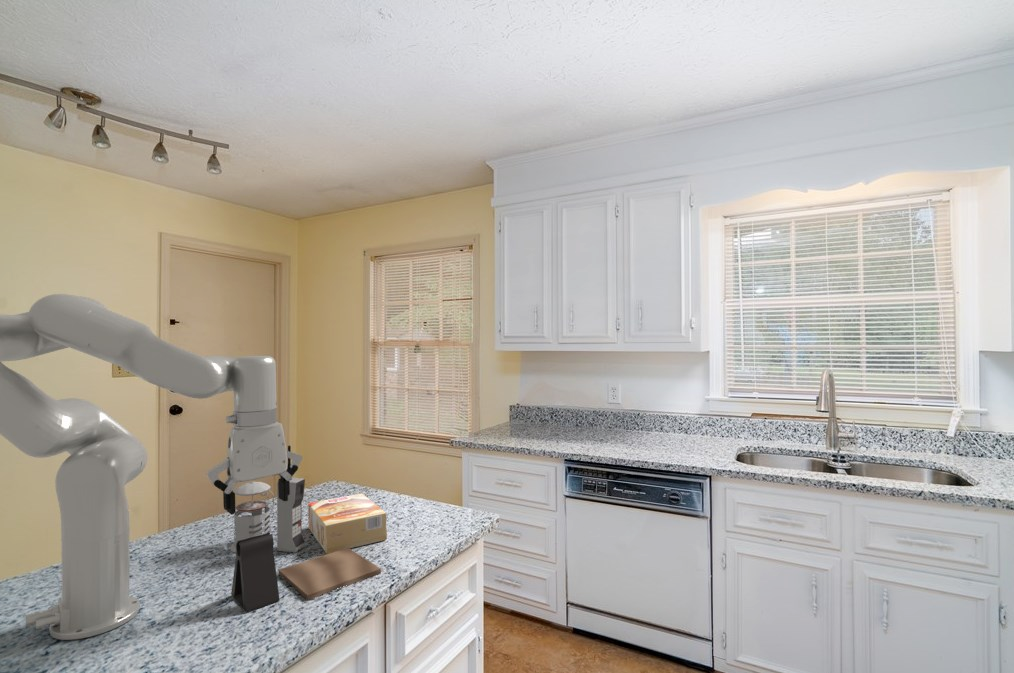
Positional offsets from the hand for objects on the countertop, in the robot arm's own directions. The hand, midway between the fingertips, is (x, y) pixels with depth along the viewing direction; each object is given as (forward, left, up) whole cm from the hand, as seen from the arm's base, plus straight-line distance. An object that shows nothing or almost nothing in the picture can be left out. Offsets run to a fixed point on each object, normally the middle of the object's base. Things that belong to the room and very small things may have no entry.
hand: (257, 505), depth 98 cm
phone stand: (0, 0, -18) cm, 18 cm away
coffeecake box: (+25, +8, -15) cm, 30 cm away
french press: (+9, +28, -18) cm, 35 cm away
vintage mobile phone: (+14, +18, -18) cm, 29 cm away
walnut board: (+15, 0, -18) cm, 23 cm away
